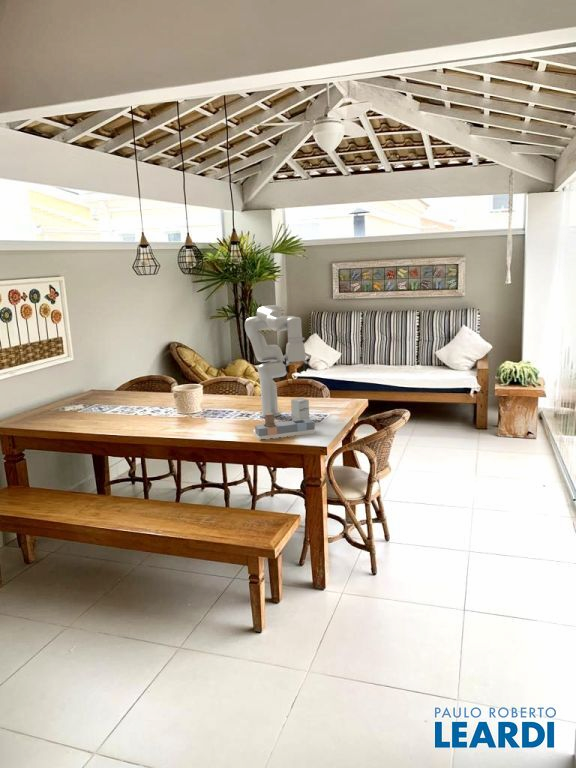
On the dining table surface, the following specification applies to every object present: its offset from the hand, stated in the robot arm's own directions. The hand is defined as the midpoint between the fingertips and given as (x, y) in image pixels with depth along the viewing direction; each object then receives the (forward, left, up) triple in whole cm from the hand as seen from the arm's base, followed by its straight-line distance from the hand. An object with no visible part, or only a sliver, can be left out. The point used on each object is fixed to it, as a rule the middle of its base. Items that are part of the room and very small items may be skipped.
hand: (296, 371), depth 322 cm
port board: (+10, -12, -30) cm, 34 cm away
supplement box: (-10, +4, -31) cm, 32 cm away
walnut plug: (+13, -20, -28) cm, 37 cm away
